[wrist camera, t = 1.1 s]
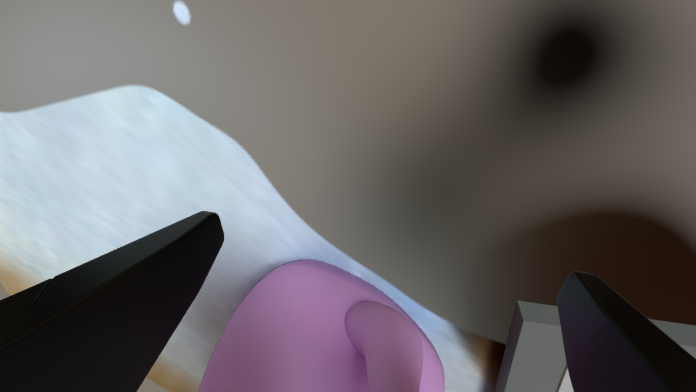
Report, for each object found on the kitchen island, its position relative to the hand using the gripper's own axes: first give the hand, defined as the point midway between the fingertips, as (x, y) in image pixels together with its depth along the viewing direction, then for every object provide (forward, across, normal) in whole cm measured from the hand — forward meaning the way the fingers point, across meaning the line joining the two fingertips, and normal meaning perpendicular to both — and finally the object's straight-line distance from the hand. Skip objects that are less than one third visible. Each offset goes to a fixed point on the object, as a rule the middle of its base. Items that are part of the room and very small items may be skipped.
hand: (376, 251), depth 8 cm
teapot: (+11, +4, +21) cm, 24 cm away
